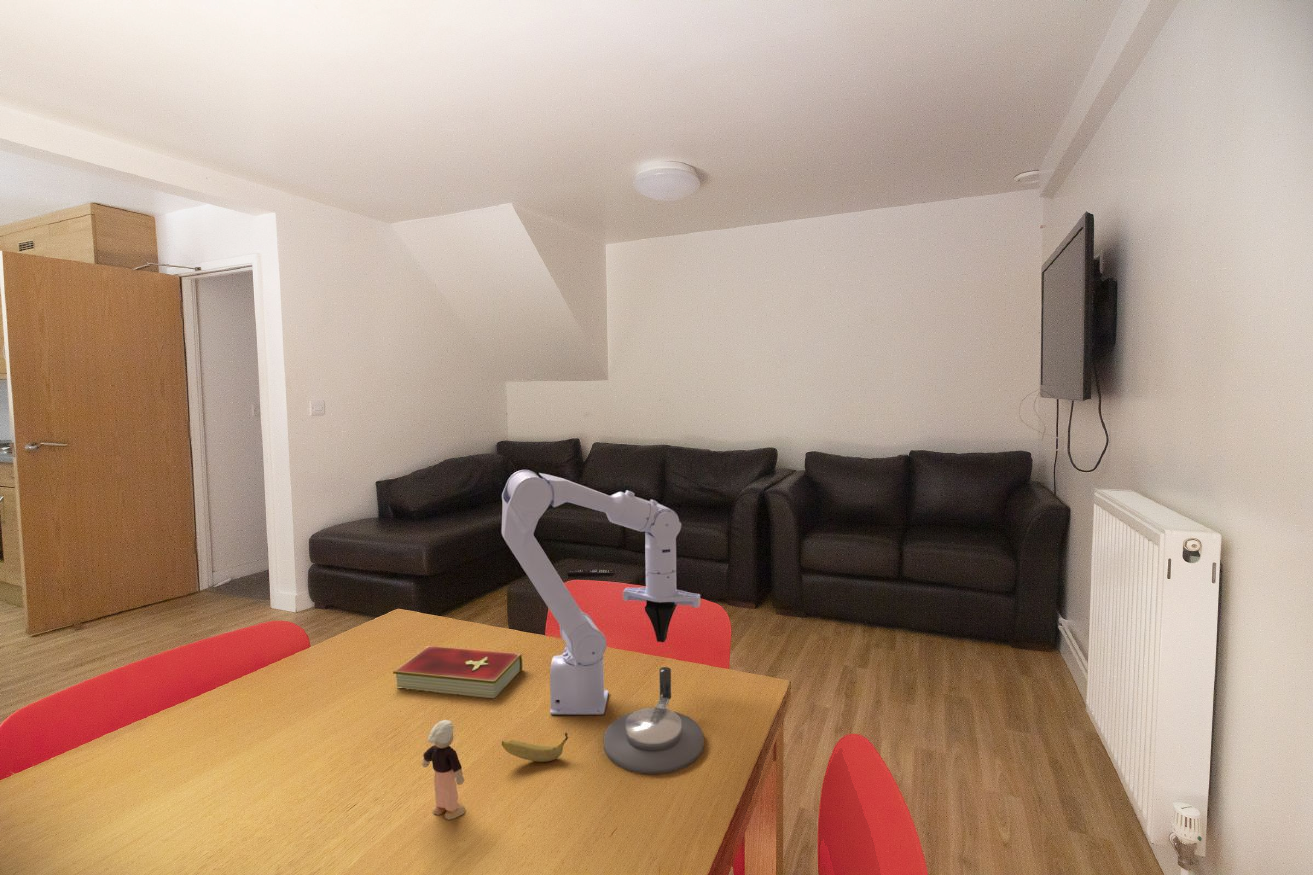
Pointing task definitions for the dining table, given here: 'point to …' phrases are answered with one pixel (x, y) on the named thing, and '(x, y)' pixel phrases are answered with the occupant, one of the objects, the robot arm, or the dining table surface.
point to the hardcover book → (459, 671)
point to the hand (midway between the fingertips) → (661, 639)
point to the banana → (534, 750)
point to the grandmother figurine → (444, 770)
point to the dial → (655, 721)
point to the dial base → (653, 759)
